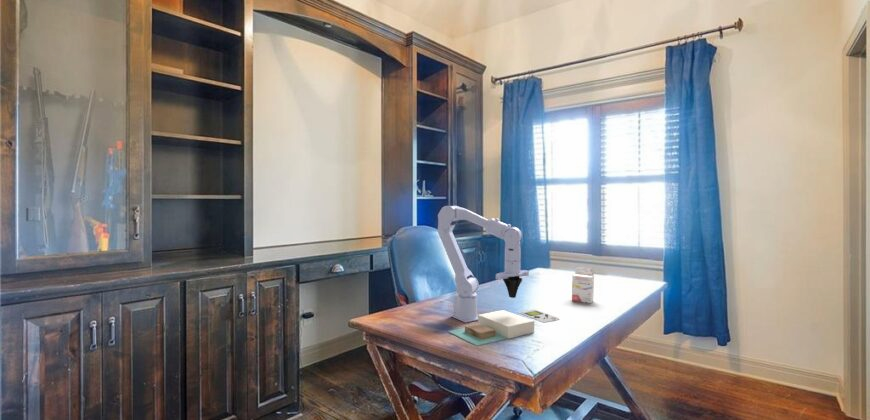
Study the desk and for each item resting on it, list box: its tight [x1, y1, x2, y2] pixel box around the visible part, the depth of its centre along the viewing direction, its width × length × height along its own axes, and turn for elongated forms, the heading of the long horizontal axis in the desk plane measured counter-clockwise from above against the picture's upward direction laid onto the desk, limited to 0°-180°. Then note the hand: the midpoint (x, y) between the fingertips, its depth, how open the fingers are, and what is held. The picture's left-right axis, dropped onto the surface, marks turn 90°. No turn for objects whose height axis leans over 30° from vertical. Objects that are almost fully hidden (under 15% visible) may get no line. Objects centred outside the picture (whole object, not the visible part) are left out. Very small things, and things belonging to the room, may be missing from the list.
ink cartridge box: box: [571, 266, 595, 304], centre depth 185 cm, size 9×5×15 cm, turn 58°
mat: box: [448, 327, 508, 347], centre depth 139 cm, size 16×13×1 cm
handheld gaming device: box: [518, 309, 560, 323], centre depth 162 cm, size 9×1×15 cm
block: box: [464, 322, 496, 339], centre depth 140 cm, size 9×6×2 cm, turn 33°
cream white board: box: [477, 309, 535, 340], centre depth 146 cm, size 16×12×4 cm
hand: (512, 297), depth 151 cm, fingers closed
